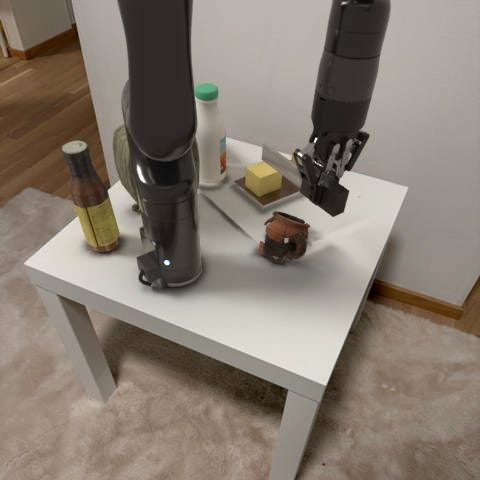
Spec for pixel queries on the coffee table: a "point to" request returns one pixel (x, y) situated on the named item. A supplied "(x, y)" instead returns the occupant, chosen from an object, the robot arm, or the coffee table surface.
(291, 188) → the butter board
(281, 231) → the pottery mug
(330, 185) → the knife
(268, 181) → the butter stick
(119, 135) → the tabletop clock
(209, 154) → the milk bottle
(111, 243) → the sauce bottle
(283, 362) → the coffee table surface
